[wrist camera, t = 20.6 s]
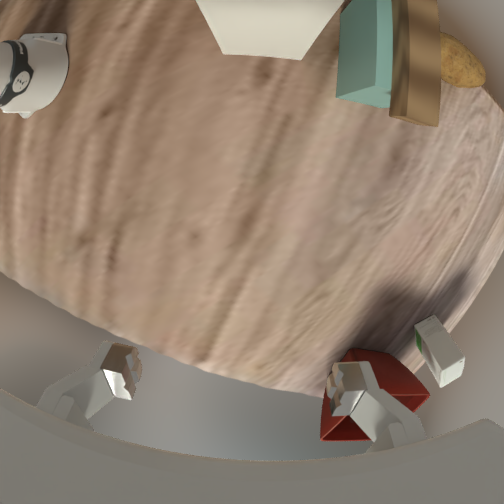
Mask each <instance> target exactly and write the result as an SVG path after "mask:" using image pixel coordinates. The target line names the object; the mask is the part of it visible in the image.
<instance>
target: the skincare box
mask: <svg viewBox="0 0 504 504" xmlns="http://www.w3.org/2000/svg"><path fill="white" fill-rule="evenodd" d="M414 329H415V340H416V346H417V347H418V349H419V351H420V352H421V354H422V356H423V358H424V359H425V361H426V363H427V364H428V366H429V368H430V370H431V371H432V373H433V375H434V377H435V378H436V381H437V382H438V384H439V386H440V388H441V387H443V386H445V385H447V384H448V383H450V382H451V381H453V380H455V379H456V378H458V377H460V376H461V375H462V370H463V368H464V360H465V356H464V355H463V353H462V352H461V350H460V349H459V347H458V346H457V344H456V343H455V342H454V340H453V339H452V337H451V336H450V335H449V333H448V332H447V330H446V329H445V328H444V326H443V325H442V324H441V322H440V321H439V320H438V318H437V317H436V315H435V314H434V315H432V316H430V317H428V318H426V319H425V320H423V321H421V322H419V323H417V324H415V325H414Z"/></svg>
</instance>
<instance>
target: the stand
mask: <svg viewBox="0 0 504 504" xmlns="http://www.w3.org/2000/svg"><path fill="white" fill-rule="evenodd" d="M196 2H197V4H198V5H199V7H200V9H201V11H202V13H203V15H204V17H205V19H206V21H207V23H208V25H209V27H210V29H211V30H212V32H213V34H214V36H215V38H216V40H217V42H218V44H219V47H220V49H221V51H222V53H223V54H234V55H254V56H268V57H278V58H287V59H295V60H302V58H303V57H304V55H305V54H306V52H307V51H308V49H309V48H310V47H311V45H312V44H313V42H314V41H315V39H316V38H317V37H318V35H319V34H320V32H321V31H322V30H323V28H324V27H325V26H326V24H327V23H328V22H329V20H330V19H331V17H332V16H333V15H334V13H335V12H336V11H337V9H338V8H339V7H340V6H341V4H342V3H343V2H344V0H196Z"/></svg>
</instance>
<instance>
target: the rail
mask: <svg viewBox="0 0 504 504" xmlns="http://www.w3.org/2000/svg"><path fill="white" fill-rule="evenodd" d="M391 2H392V25H393V59H392V83H391V98H390V110H389V116H390V117H394V118H397V119H401V120H404V121H407V122H411V123H414V124H417V125H424V126H435V127H438V122H439V110H440V95H441V41H440V26H439V15H438V6H437V0H391Z"/></svg>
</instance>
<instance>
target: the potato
mask: <svg viewBox="0 0 504 504" xmlns="http://www.w3.org/2000/svg"><path fill="white" fill-rule="evenodd" d="M440 41H441V78H442V79H443V80H444V81H445V82H447V83H450V84H452V85H454V86H456V87H461V88H474V87H479V86H481V85H482V84H483V83H484V82H485V70H484V68H483V66H482V64H481V62H480V61H479V60H478V59H477V58H476V56H475V55H474V54H473V53H472V52H471V51H470V50H469V49H468V48H467V47H465V46H464V45H463V44H462V43H461V42H459V41H458V40H457V39H456V38H454V37H453V36H451V35H448V34H446V33H442V32H440Z"/></svg>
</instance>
